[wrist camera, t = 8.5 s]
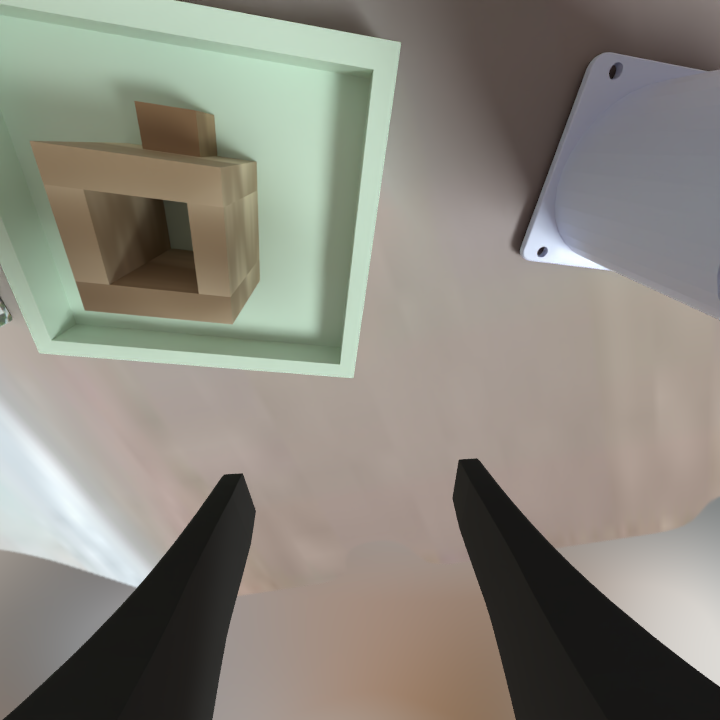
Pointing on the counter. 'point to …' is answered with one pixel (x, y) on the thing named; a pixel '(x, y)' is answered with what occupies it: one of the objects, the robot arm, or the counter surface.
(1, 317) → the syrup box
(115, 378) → the counter surface
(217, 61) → the tray
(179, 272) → the tan wooden hollow block
